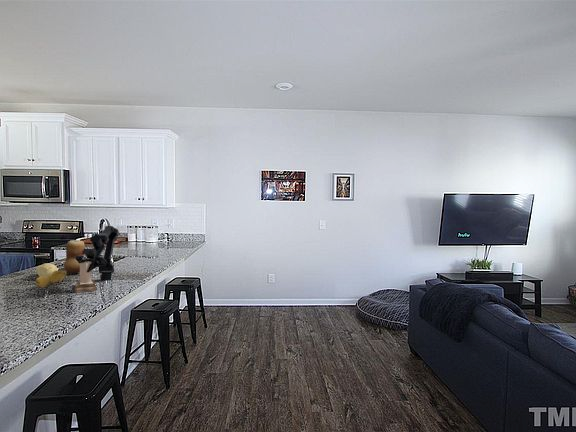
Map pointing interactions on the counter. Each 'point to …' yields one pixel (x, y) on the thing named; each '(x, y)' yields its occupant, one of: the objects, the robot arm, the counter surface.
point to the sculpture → (46, 269)
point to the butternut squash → (73, 256)
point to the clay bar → (85, 272)
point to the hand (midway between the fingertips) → (83, 271)
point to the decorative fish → (50, 278)
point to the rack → (85, 288)
